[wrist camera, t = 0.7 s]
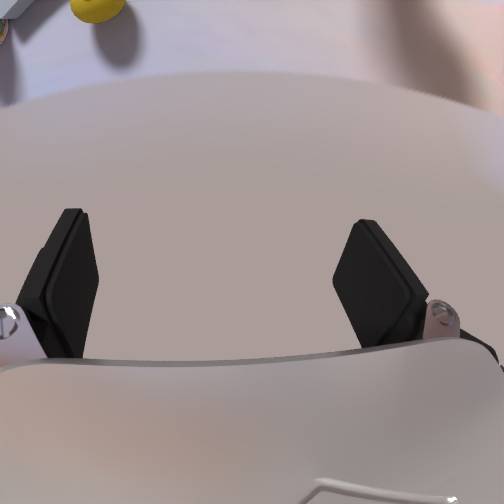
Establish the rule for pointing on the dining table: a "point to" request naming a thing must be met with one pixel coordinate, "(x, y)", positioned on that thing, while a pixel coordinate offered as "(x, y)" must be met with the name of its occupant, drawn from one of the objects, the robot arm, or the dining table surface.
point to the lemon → (96, 9)
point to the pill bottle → (3, 29)
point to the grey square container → (13, 8)
